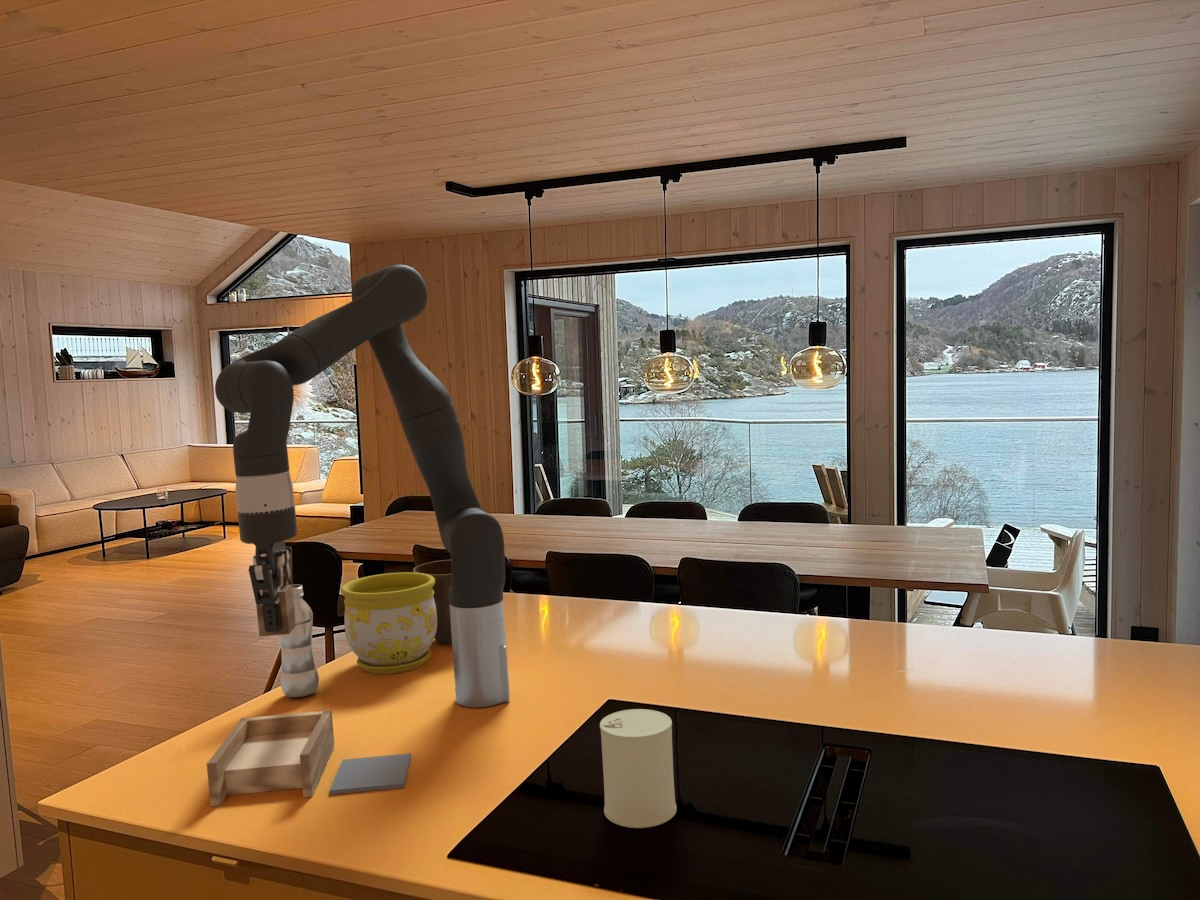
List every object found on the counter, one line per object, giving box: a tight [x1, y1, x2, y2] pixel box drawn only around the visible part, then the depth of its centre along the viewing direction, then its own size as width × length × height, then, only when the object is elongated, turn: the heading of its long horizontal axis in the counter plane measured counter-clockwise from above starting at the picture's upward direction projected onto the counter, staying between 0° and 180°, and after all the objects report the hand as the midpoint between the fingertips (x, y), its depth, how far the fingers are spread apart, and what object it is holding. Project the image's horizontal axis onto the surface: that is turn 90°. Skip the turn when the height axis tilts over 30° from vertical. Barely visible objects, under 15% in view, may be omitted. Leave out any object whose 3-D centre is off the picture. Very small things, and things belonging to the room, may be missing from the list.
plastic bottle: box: [278, 584, 320, 698], centre depth 164 cm, size 6×7×20 cm
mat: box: [329, 752, 412, 795], centre depth 130 cm, size 10×10×1 cm
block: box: [255, 585, 296, 637], centre depth 128 cm, size 4×4×6 cm
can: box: [599, 708, 677, 829], centre depth 115 cm, size 9×9×12 cm
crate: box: [206, 710, 335, 807], centre depth 131 cm, size 13×16×6 cm
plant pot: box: [413, 559, 452, 646], centre depth 193 cm, size 15×15×16 cm
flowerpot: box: [340, 571, 437, 675], centre depth 179 cm, size 18×18×16 cm
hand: (278, 625), depth 128 cm, fingers closed on block, 4 cm apart
